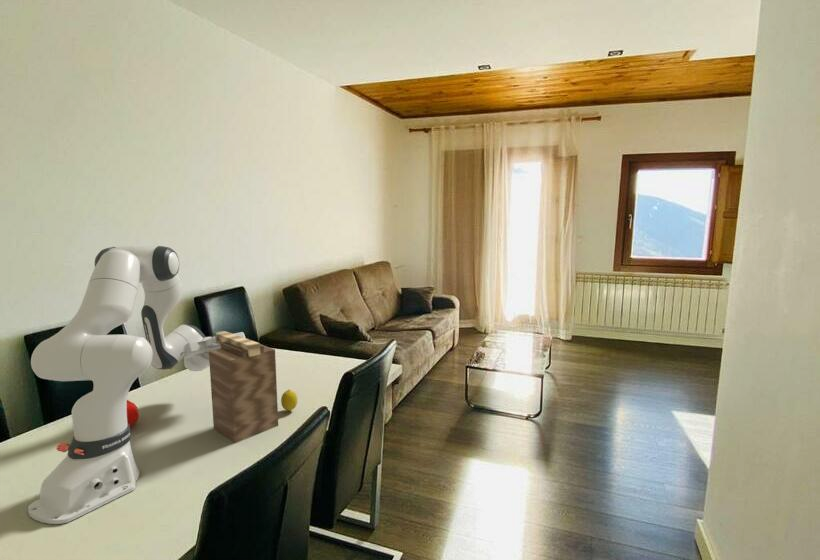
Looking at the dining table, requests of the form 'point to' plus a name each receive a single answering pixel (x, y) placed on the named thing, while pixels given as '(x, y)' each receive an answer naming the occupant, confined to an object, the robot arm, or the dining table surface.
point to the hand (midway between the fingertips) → (223, 337)
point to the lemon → (289, 400)
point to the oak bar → (238, 342)
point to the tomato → (132, 413)
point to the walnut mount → (243, 391)
